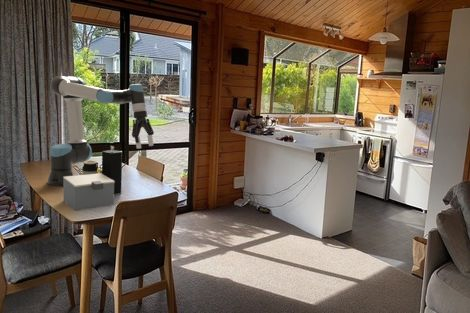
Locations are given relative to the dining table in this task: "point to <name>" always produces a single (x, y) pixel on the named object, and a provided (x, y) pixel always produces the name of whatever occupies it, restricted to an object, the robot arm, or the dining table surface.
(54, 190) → the dining table surface
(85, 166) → the travel mug
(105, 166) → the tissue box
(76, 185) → the lid
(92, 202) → the carton
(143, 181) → the dining table surface
